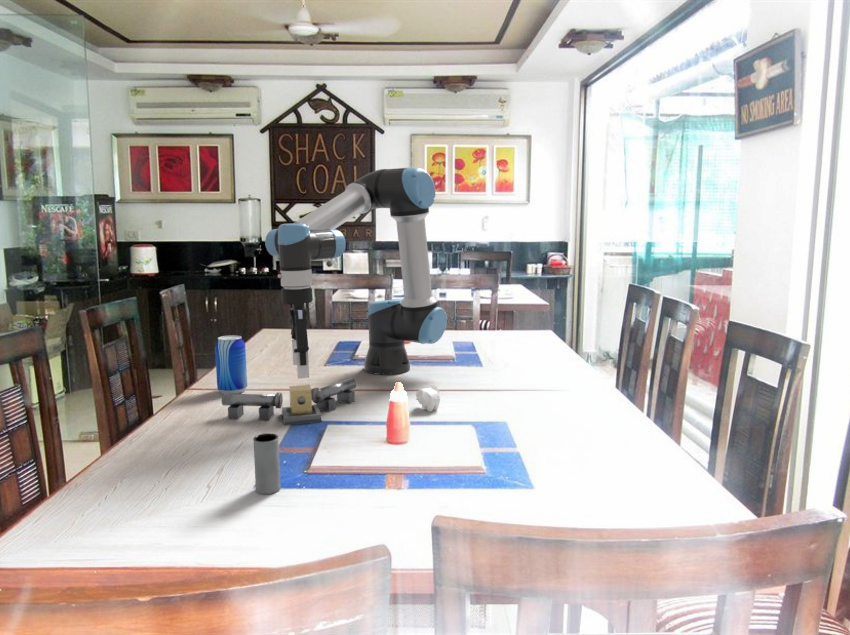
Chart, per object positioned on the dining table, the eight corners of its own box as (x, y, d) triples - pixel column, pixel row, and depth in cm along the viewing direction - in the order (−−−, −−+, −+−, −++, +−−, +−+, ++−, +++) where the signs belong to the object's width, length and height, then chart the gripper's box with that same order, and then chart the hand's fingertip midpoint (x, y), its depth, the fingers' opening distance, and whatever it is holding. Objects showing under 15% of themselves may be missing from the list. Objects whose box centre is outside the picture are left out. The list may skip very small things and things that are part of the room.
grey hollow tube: (258, 485, 125) (255, 433, 124) (282, 484, 126) (279, 432, 124) (253, 495, 121) (251, 442, 119) (278, 494, 121) (276, 441, 120)
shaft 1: (283, 414, 168) (282, 390, 167) (278, 420, 164) (277, 395, 163) (227, 413, 170) (226, 389, 169) (221, 419, 165) (219, 394, 164)
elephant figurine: (427, 403, 178) (426, 382, 177) (448, 409, 172) (448, 387, 171) (408, 408, 173) (408, 387, 172) (430, 415, 168) (430, 392, 167)
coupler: (290, 412, 168) (289, 386, 167) (309, 410, 169) (309, 384, 168) (292, 419, 163) (291, 391, 161) (312, 417, 164) (311, 390, 163)
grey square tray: (317, 411, 171) (317, 404, 171) (321, 421, 163) (321, 414, 163) (282, 414, 169) (281, 407, 169) (284, 425, 160) (284, 418, 160)
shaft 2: (322, 414, 169) (321, 389, 168) (309, 411, 172) (309, 387, 171) (359, 400, 181) (358, 377, 180) (346, 397, 184) (346, 375, 183)
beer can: (239, 396, 186) (236, 340, 183) (212, 394, 188) (208, 339, 185) (252, 388, 194) (250, 335, 192) (226, 386, 196) (223, 334, 193)
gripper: (277, 281, 171) (282, 360, 175) (284, 294, 148) (289, 385, 152) (306, 280, 173) (310, 358, 177) (317, 292, 150) (322, 382, 154)
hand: (301, 370), depth 164 cm, fingers open, 13 cm apart
